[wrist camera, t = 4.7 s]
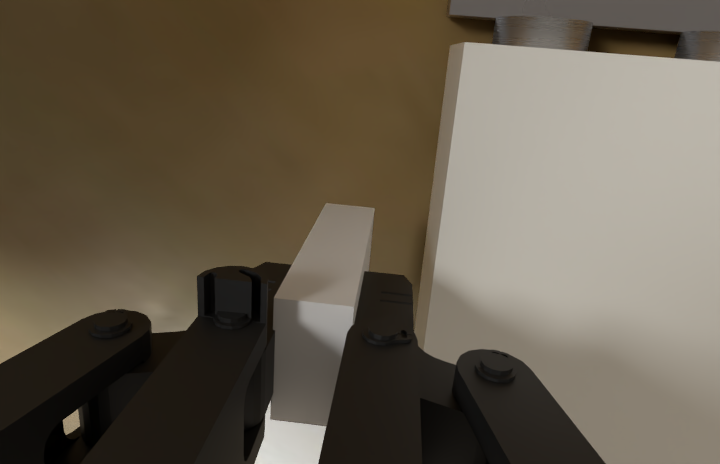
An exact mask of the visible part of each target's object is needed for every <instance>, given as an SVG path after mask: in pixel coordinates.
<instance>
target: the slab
mask: <svg viewBox="0 0 720 464" xmlns="http://www.w3.org/2000/svg"><path fill="white" fill-rule="evenodd" d="M414 333H415V335H416V337H417V340H418V346H419V347H420V348H421V349H422V350H423V351H424V352H426V353H427V354H429V355H431V356H433V357H435V358H437V359H440V360H442V361H445V362H449V363H452V364H455V365H456V362H457V360H458V359H459V357H460V355H462V354H464V353H465V352H467V351H470V350H477V349H487V350H498V351H500V352H505V353H508V354H510V355H511V356H513V357H515V358H517V359H519V360H521V361H523V362H524V363H525V364H526V365H527V366H528V367H529V368H530V369H531V370H532V371H533V372H534V373H535V375H536V376H537V377H538V379H539V380H540V381H541V382H542V384H543V385H544V386H545V387H546V389H547V390H548V391H549V392H550V394H551V395H552V396H553V398H554V399H555V400H556V401H557V403H558V404H559V405H560V406H561V408H562V409H563V410H564V411H565V413H566V414H567V415H568V417H569V418H570V419H571V420H572V422H573V423H574V424H575V425H576V427H577V428H578V429H579V430H580V432H581V433H582V434H583V435H584V437H585V438H586V439H587V441H588V442H589V443H590V444H591V446H592V447H593V448H594V449H595V451H596V452H597V453H598V454H599V456H600V457H601V458H602V460H603V461H604V462H605V463H606V464H720V62H715V61H702V60H689V59H676V58H663V57H651V56H638V55H625V54H612V53H599V52H586V51H573V50H561V49H548V48H535V47H522V46H509V45H496V44H483V43H471V42H463V43H458V44H454V45H450V50H449V58H448V66H447V74H446V82H445V90H444V98H443V106H442V114H441V122H440V130H439V138H438V146H437V154H436V162H435V170H434V178H433V186H432V194H431V202H430V210H429V218H428V226H427V234H426V242H425V250H424V258H423V266H422V274H421V282H420V290H419V298H418V306H417V314H416V322H415V330H414Z"/></svg>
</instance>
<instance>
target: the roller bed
mask: <svg viewBox="0 0 720 464" xmlns="http://www.w3.org/2000/svg"><path fill="white" fill-rule="evenodd" d="M447 17H452V18H466V19H479V20H492V21H495V26H494V33H493V39H492V44H496V45H509V46H522V47H535V48H548V49H561V50H573V51H586V52H587V50H588V45H589V41H590V36H591V31H592V28H598V29H612V30H625V31H638V32H651V33H665V34H678V35H680V38H679V42H678V46H677V49H676V53H675V57H674V58H676V59H689V60H702V61H715V62H720V0H448V8H447Z"/></svg>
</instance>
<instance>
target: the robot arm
mask: <svg viewBox="0 0 720 464" xmlns="http://www.w3.org/2000/svg"><path fill="white" fill-rule="evenodd" d="M374 211H375V208H370V207H360V206H350V205H340V204H330V203H326V204H325V206H324V208H323V209H322V211H321V213H320V215H319V217H318V218H317V220H316V222H315V224H314V226H313V228H312V229H311V231H310V233H309V235H308V237H307V238H306V240H305V242H304V244H303V246H302V248H301V249H300V251H299V253H298V255H297V257H296V258H295V260H294V262H293V264H292V265H289V264H279V263H270V262H265V263H263V264H261V265H259V266H257V267H255V268H249V267H244V266H225V267H217V268H213V269H210V270H207V271H204V272H203V273H201V274H200V275H198V276H197V291H198V317H197V318H196V319H195V320H194V322H193V323H192V324H191V325H190V327H189V328H188V329H187V330H186V331H179V332H166V333H152V331H151V321H150V320H149V318H148V317H147V316H146V315H144V314H141V313H139V312H136V311H129V310H124V309H118V310H116V309H115V310H107V311H105V312H102V313H97V314H94V315H91V316H89V317H86V318H84V319H81V320H80V321H78V322H76V323H74V324H72V325H71V326H69V327H67V328H65V329H63V330H61V331H60V332H58V333H56V334H54V335H52V336H50V337H49V338H47V339H45V340H43V341H41V342H39V343H38V344H36V345H34V346H32V347H30V348H28V349H27V350H25V351H23V352H21V353H19V354H18V355H16V356H14V357H12V358H10V359H8V360H7V361H5V362H3V363H1V364H0V464H254V463H255V460H256V457H257V454H258V452H259V449H260V446H261V444H262V441H263V438H264V430H265V413H266V410H267V408H268V405H269V403H270V400H271V417H270V419H272V420H280V421H288V422H296V423H304V424H312V425H320V426H327V427H326V431H325V436H324V441H323V445H322V450H321V454H320V459H319V463H318V464H606V463H605V462H604V461H603V460H602V458H601V457H600V456H599V454H598V453H597V452H596V451H595V449H594V448H593V447H592V446H591V444H590V443H589V442H588V441H587V439H586V438H585V437H584V435H583V434H582V433H581V432H580V430H579V429H578V428H577V427H576V425H575V424H574V423H573V422H572V420H571V419H570V418H569V417H568V415H567V414H566V413H565V411H564V410H563V409H562V408H561V406H560V405H559V404H558V403H557V401H556V400H555V399H554V398H553V396H552V395H551V394H550V392H549V391H548V390H547V389H546V387H545V386H544V385H543V384H542V382H541V381H540V380H539V379H538V377H537V376H536V375H535V373H534V372H533V371H532V370H531V369H530V368H529V367H528V366H527V365H526V364H525V363H524V362H523V361H521V360H519V359H517V358H515V357H513V356H511V355H510V354H508V353H505V352H500V351H498V350H487V349H477V350H470V351H467V352H465V353H464V354H462V355H460V357H459V359H458V360H457V362H456V365H455V364H452V363H449V362H445V361H442V360H440V359H437V358H435V357H433V356H431V355H429V354H427V353H426V352H424V351H423V350H422V349H421V348H420V347H419V346H418V340H417V337H416V335H415V333H414V329H413V297H412V295H413V293H412V284H411V283H410V282H409V281H408V280H407V278H406V277H405V276H404V275H396V274H386V273H377V272H369V264H370V254H371V243H372V232H373V221H374ZM77 409H78V411H79V420H80V427H78V428H77V429H76V430H75V431H73V432H72V433H70V434H68V435H65V433H64V428H63V419H65V418H66V417H67V416H69V415H70V414H72V413H73V412H74V411H76V410H77Z"/></svg>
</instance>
